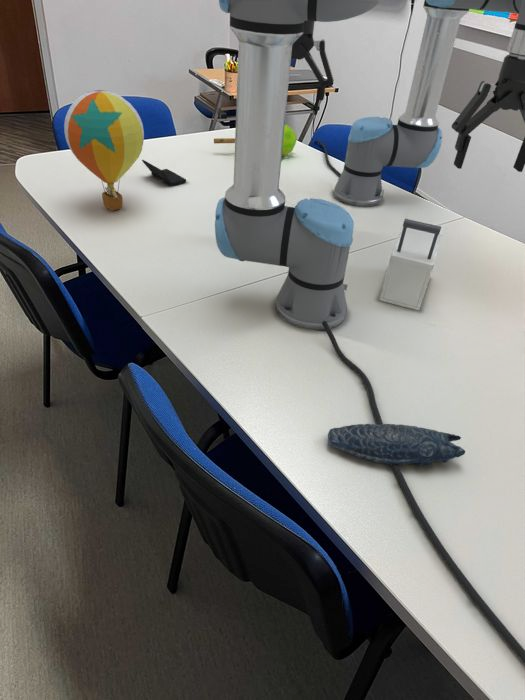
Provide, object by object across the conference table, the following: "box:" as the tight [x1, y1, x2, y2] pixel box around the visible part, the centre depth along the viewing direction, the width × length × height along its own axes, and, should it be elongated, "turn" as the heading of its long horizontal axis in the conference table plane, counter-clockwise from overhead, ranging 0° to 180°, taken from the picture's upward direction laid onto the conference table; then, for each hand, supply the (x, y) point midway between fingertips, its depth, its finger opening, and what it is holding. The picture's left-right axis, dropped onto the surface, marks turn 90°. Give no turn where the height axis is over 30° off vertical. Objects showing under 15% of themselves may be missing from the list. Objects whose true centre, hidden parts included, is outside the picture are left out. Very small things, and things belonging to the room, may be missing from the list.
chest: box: [379, 258, 433, 311], centre depth 119 cm, size 16×9×11 cm, turn 159°
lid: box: [389, 218, 442, 270], centre depth 113 cm, size 16×9×8 cm, turn 159°
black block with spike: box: [141, 159, 187, 187], centre depth 162 cm, size 12×7×10 cm
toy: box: [63, 89, 145, 212], centre depth 136 cm, size 20×20×30 cm
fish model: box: [327, 423, 466, 466], centre depth 81 cm, size 7×21×5 cm, turn 84°
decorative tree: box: [213, 124, 297, 157], centre depth 186 cm, size 18×10×30 cm
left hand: (289, 110), depth 134 cm, fingers open, 13 cm apart
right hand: (487, 168), depth 112 cm, fingers open, 13 cm apart
